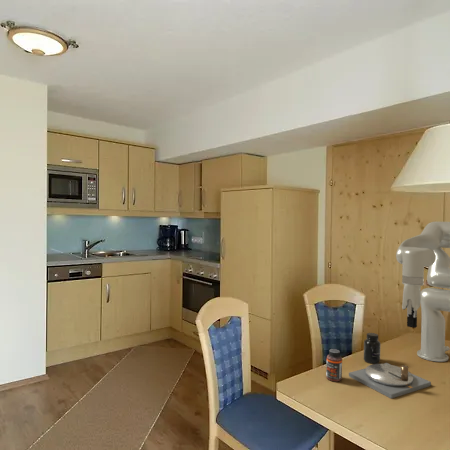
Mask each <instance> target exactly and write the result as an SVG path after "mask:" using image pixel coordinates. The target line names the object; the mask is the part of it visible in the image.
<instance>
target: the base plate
mask: <svg viewBox="0 0 450 450" xmlns="http://www.w3.org/2000/svg"><path fill="white" fill-rule="evenodd" d="M383 364H388V365H391V364H390V363H388V362H385V363H383ZM411 374H412V375H413V383H412V384H411V385H408V386H402V387H397V386H388V385H384V384H380V383H377V382H375V381H373V380H371V379H370V378H368V377H367V375H366V367H365V368H363V369H362V368H361V369H358V370H353V371H349V372H348V377H349V378H351V379H353V380H354V381H357V382H359V383H361V384H363V385H364V386H367V387H368V388H370V389H371V390H374V391H376V392H378V393H379V394H382V395H383V396H385V397H387V398H389V399H394V398H398V397H401V396H403V395H407V394H409V393H414V392H416V391H419V390H423V389H425V388H428V387H432V381H429V380H427V379H425V378H423V377H420V376H418V375H416V374H413V373H411Z"/></svg>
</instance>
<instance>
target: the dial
mask: <svg viewBox="0 0 450 450" xmlns="http://www.w3.org/2000/svg"><path fill="white" fill-rule="evenodd" d="M388 364H389V363H388ZM388 364H384V363H377V364H373V363H371V364H369V365H367V366H366V367H365V368H366V375H367V377H368V378H370V379H371V380H373V381H375V382H377V383H380V384H384V385H388V386H397V387H402V386H408V385H411V384H412V383H413V375H412V374H413V373H412V372H410V371H409V367H408V365H404V364H403V365H400V366H398V365H393V364H390V365H388Z"/></svg>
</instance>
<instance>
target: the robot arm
mask: <svg viewBox="0 0 450 450" xmlns="http://www.w3.org/2000/svg"><path fill="white" fill-rule="evenodd" d="M444 249H450V221H432V222H429V223H427V224H426V225H425V227H424V229H423V230H422V231H421V233H420V234H418V235H415V236H412V237H410V238H409V237H408V238H406V239H405V240H403V241H402V242H401V244H399V246H398V247H397V250H396V253H395V258H396V261H397V262H398V263H399V264H400V265H402V271H401V272H402V273H401V275H402V277H401V279H402V280H401V284H402V285H403V291H402V304H401V307H402V308H401V309H402V310H406V309H407V311H406V312H407V315H406V317H407V318H406V326H407V327H408V328H413V329H416V328H417V327H418V310H419V309H421V321H420V322H421V327H420V328H421V330H420V333H421V334H420V349H419V350H417V352H416V354H417V356H418V357H419V358H421V359H424V360H427V361H430V362H431V361H432V362H439V363H443V362H447V361H449V355H448V354H446V352H447V351H450V347H449V346H448V345H447V346H446V344H445V343H446V319H445V316H444V315H443V313H442V312H448V313H450V255H449V254H448V253H447V252H446V251H445V250H444ZM425 267H426V268H427V269H428V270H427V273H426V274H427V275H426V282H427V284H428V285H429V286H431V287H426V288H422V287H423V286H424V285H425V284H424V281H425V280H424V278H425V275H424V274H425V273H424V272H425ZM421 288H422V290H421Z"/></svg>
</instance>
